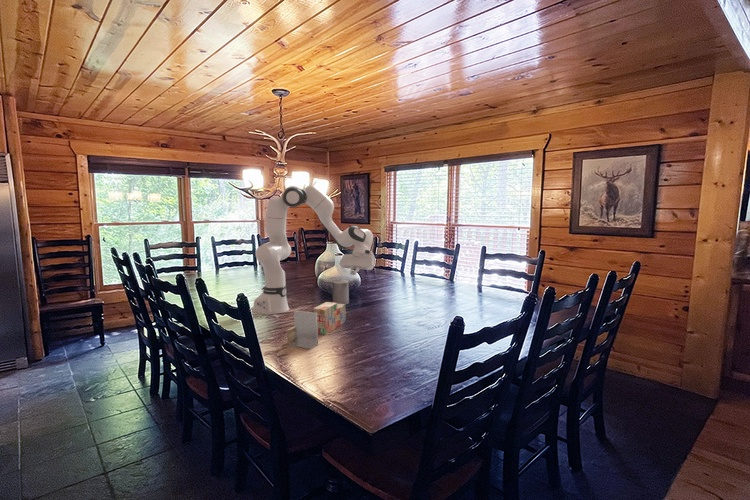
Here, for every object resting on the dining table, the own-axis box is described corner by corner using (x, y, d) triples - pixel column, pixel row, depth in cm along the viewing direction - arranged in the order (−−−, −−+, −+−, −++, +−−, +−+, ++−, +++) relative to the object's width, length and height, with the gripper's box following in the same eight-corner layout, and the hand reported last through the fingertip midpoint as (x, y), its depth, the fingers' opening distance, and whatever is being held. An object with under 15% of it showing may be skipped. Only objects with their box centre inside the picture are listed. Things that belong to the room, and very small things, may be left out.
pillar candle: (332, 301, 242) (332, 277, 240) (348, 301, 243) (348, 277, 241) (332, 306, 232) (332, 281, 230) (349, 305, 233) (348, 280, 231)
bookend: (288, 345, 168) (287, 314, 166) (296, 341, 174) (295, 310, 172) (310, 349, 164) (309, 316, 162) (318, 344, 169) (317, 312, 168)
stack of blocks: (335, 320, 204) (334, 297, 202) (346, 321, 201) (345, 298, 200) (313, 333, 184) (313, 307, 183) (325, 335, 182) (325, 309, 180)
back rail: (287, 343, 171) (287, 329, 171) (324, 322, 201) (324, 310, 200) (290, 343, 171) (289, 330, 170) (327, 322, 200) (327, 311, 199)
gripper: (341, 250, 226) (334, 269, 218) (374, 251, 218) (367, 272, 210) (345, 256, 230) (338, 276, 223) (377, 258, 222) (371, 278, 215)
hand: (352, 274), depth 216 cm, fingers closed
